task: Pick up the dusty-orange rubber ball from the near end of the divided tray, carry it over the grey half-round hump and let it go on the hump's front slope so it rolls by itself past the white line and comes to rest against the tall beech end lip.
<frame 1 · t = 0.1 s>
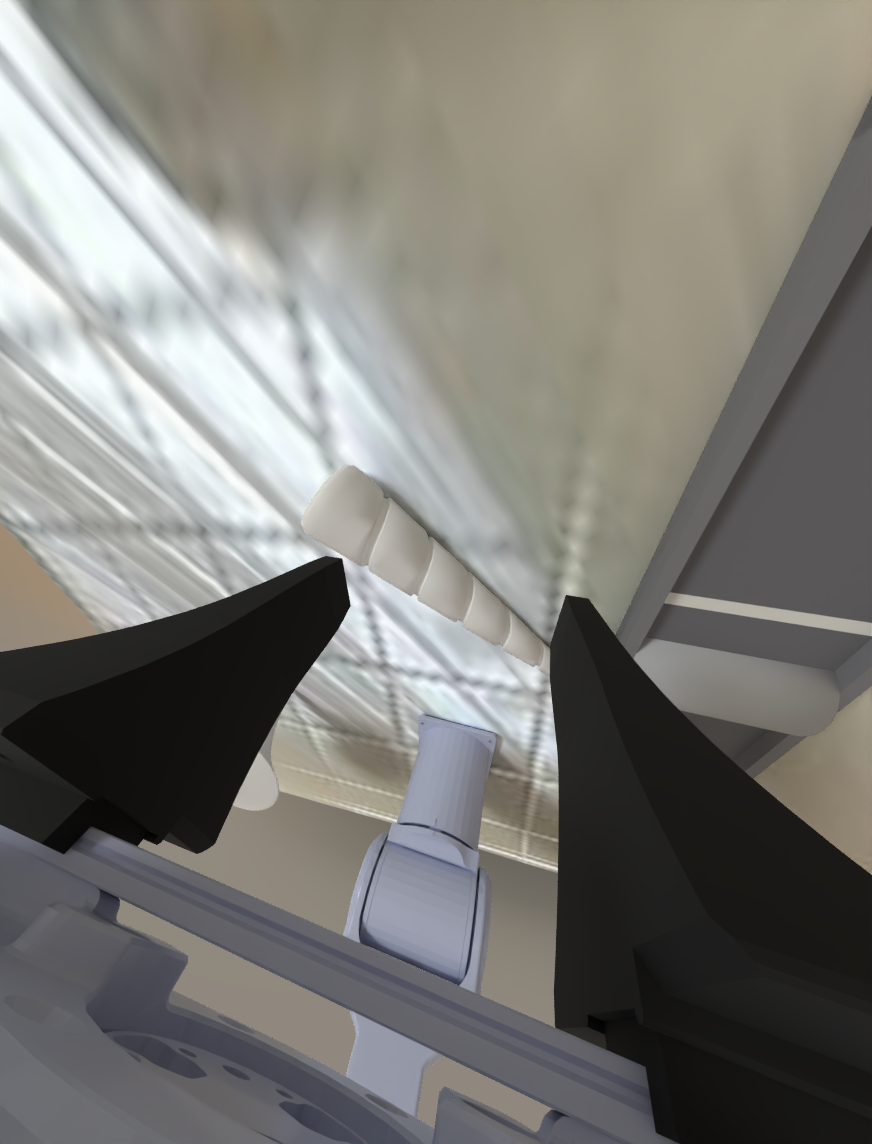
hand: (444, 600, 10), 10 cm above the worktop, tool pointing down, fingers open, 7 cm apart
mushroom: (291, 686, 37), on the worktop
divided tray: (755, 605, 18), on the worktop
unicorn horn: (468, 580, 22), on the worktop
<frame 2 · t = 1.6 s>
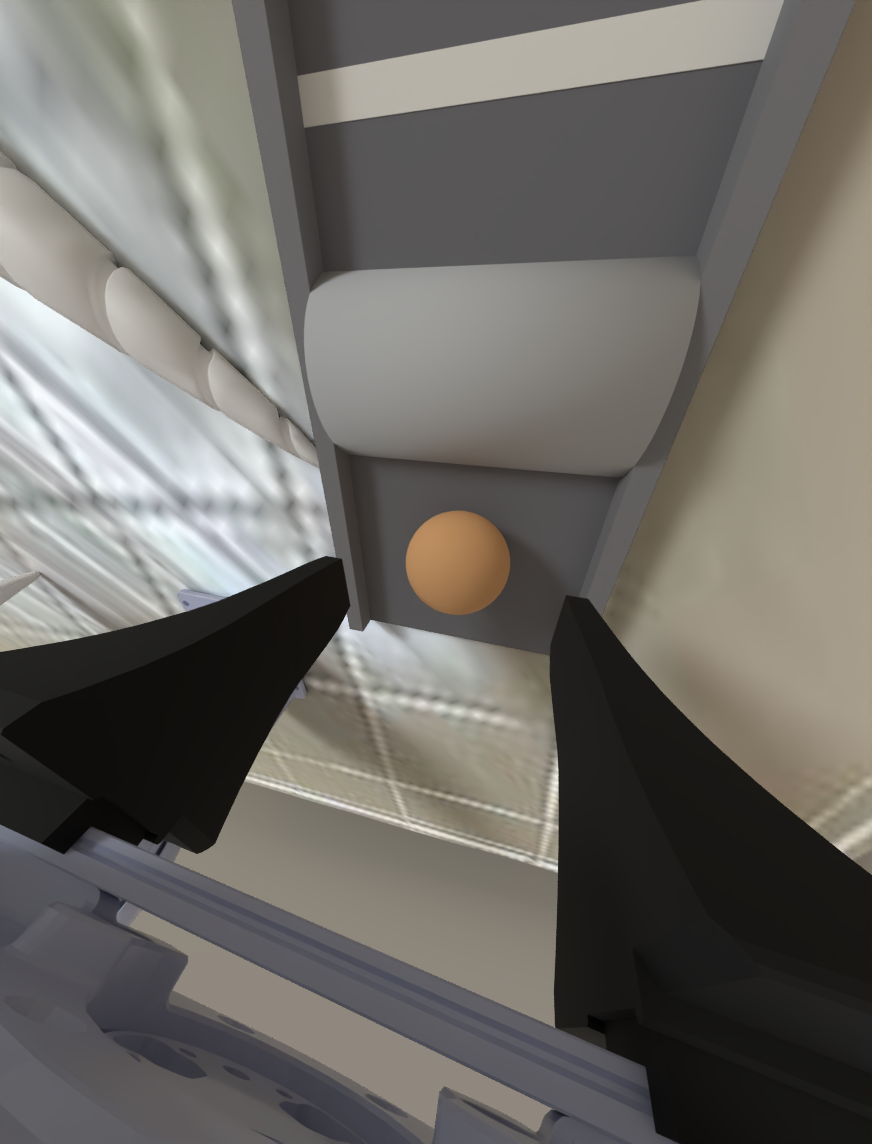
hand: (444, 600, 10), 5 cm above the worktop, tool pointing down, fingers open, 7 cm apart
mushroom: (43, 573, 27), on the worktop
divided tray: (505, 88, 8), on the worktop
unicorn horn: (78, 238, 12), on the worktop
ball: (466, 539, 14), point 1 cm above the worktop, touching divided tray
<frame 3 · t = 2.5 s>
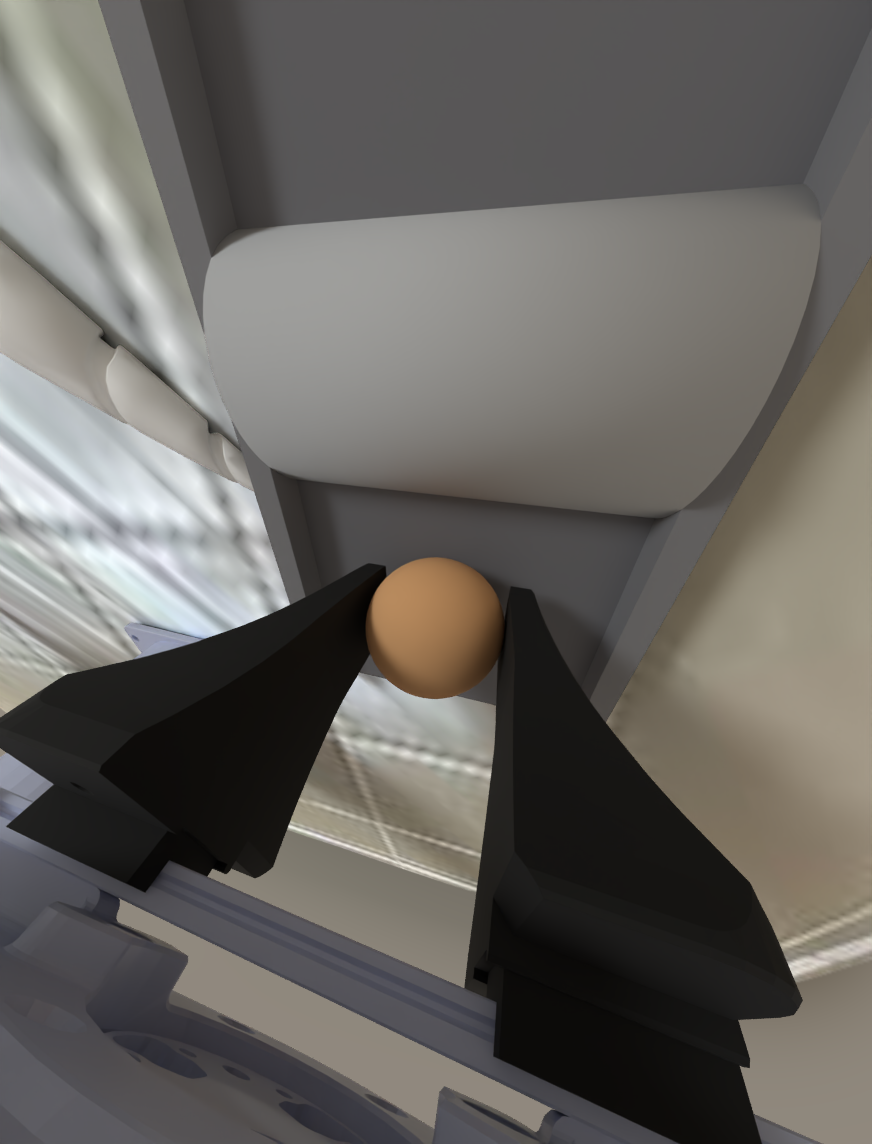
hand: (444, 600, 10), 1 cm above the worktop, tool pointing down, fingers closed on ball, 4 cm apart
ball: (450, 586, 11), point 1 cm above the worktop, touching gripper, divided tray
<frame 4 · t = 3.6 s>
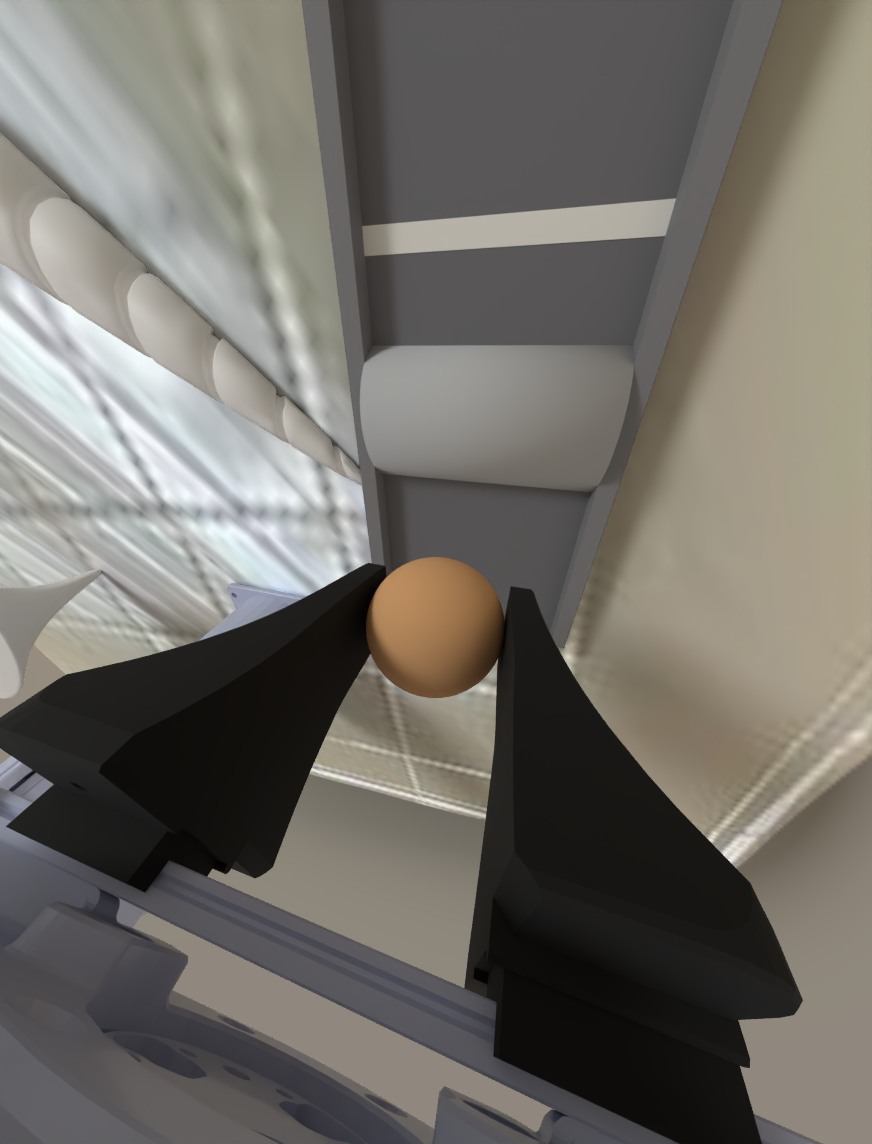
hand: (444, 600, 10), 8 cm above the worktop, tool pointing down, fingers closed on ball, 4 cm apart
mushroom: (103, 571, 31), on the worktop
divided tray: (503, 236, 11), on the worktop
unicorn horn: (182, 313, 16), on the worktop
ball: (451, 586, 11), point 8 cm above the worktop, touching gripper
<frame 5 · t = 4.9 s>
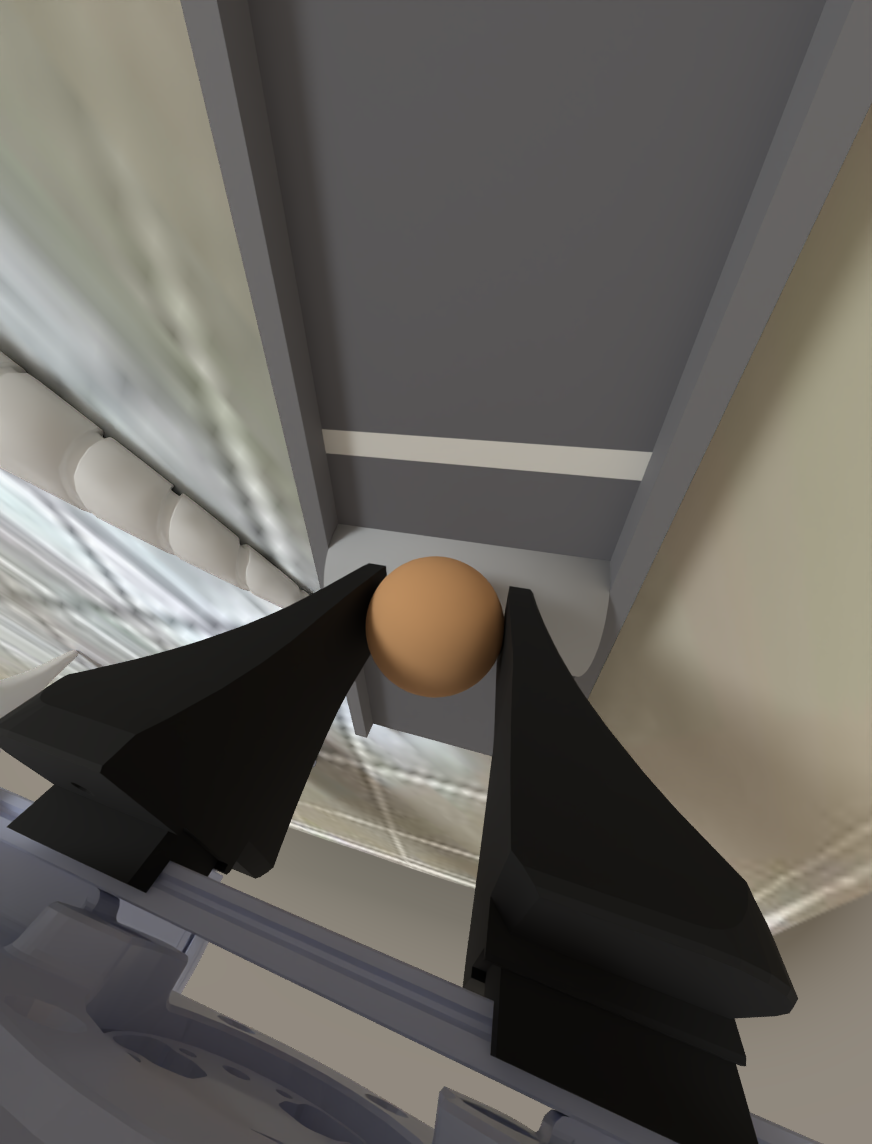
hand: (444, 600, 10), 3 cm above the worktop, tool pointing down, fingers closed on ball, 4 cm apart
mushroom: (80, 650, 30), on the worktop
divided tray: (471, 448, 11), on the worktop
unicorn horn: (141, 460, 15), on the worktop
ball: (450, 585, 11), point 2 cm above the worktop, touching gripper
when the fingers open (3 cm above the worktop, at t = 4.9 s): ball moves 18 cm and tips over, resting on divided tray.
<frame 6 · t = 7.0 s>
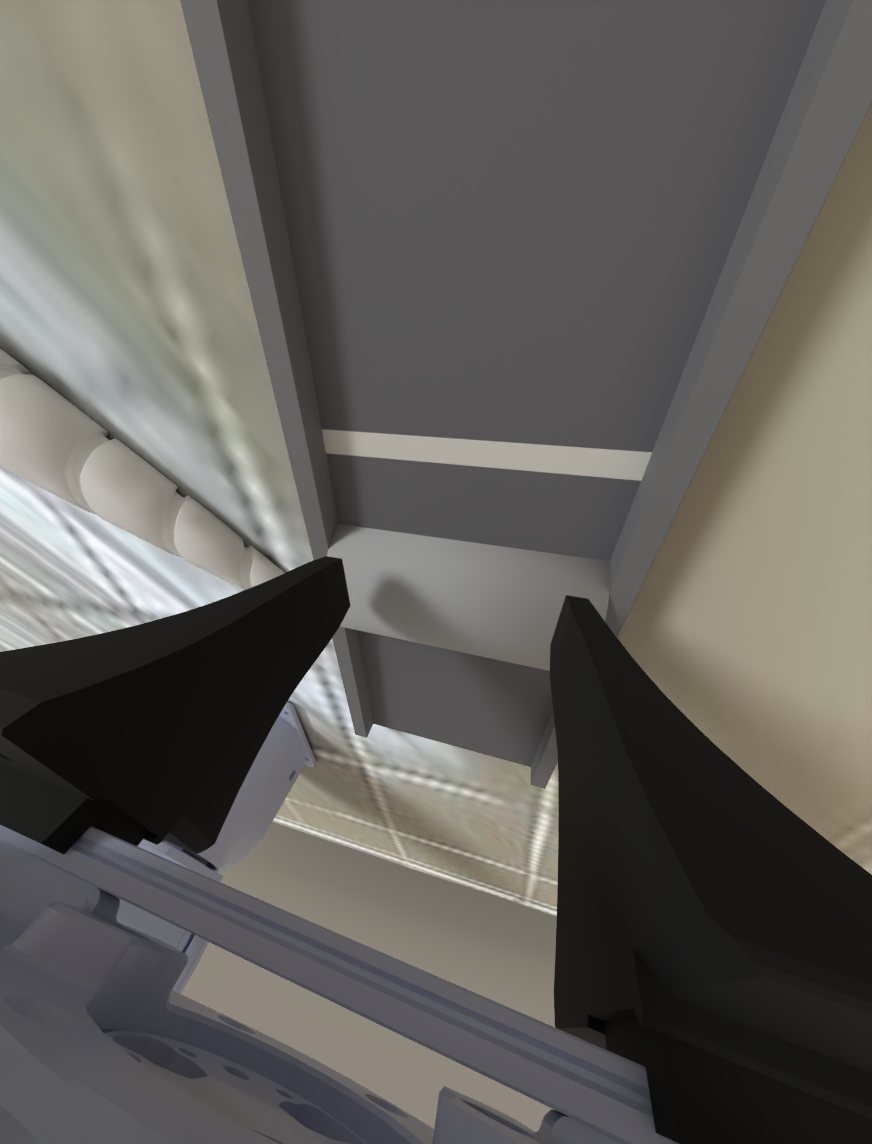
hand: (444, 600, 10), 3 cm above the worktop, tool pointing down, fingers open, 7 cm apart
divided tray: (471, 448, 11), on the worktop
unicorn horn: (146, 462, 15), on the worktop
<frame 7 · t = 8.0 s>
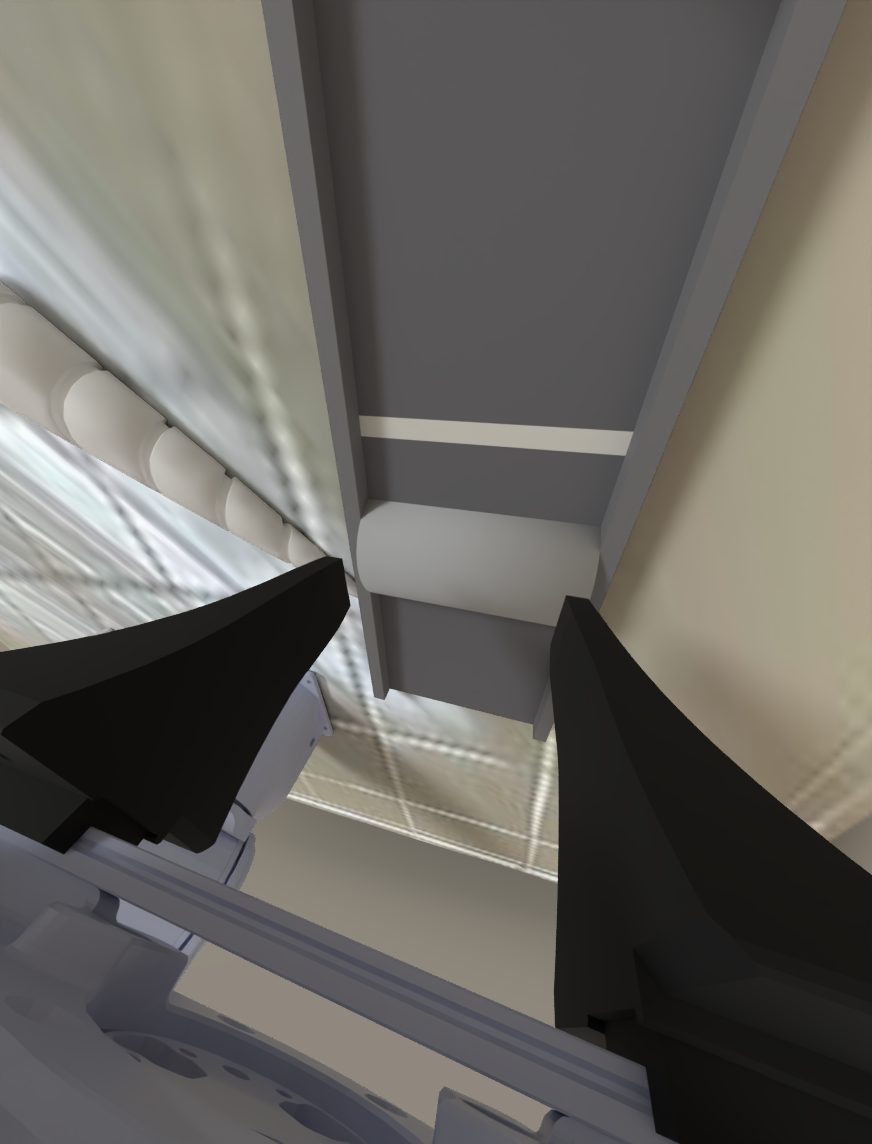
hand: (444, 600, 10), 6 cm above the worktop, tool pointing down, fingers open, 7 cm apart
divided tray: (484, 431, 13), on the worktop
unicorn horn: (197, 448, 18), on the worktop
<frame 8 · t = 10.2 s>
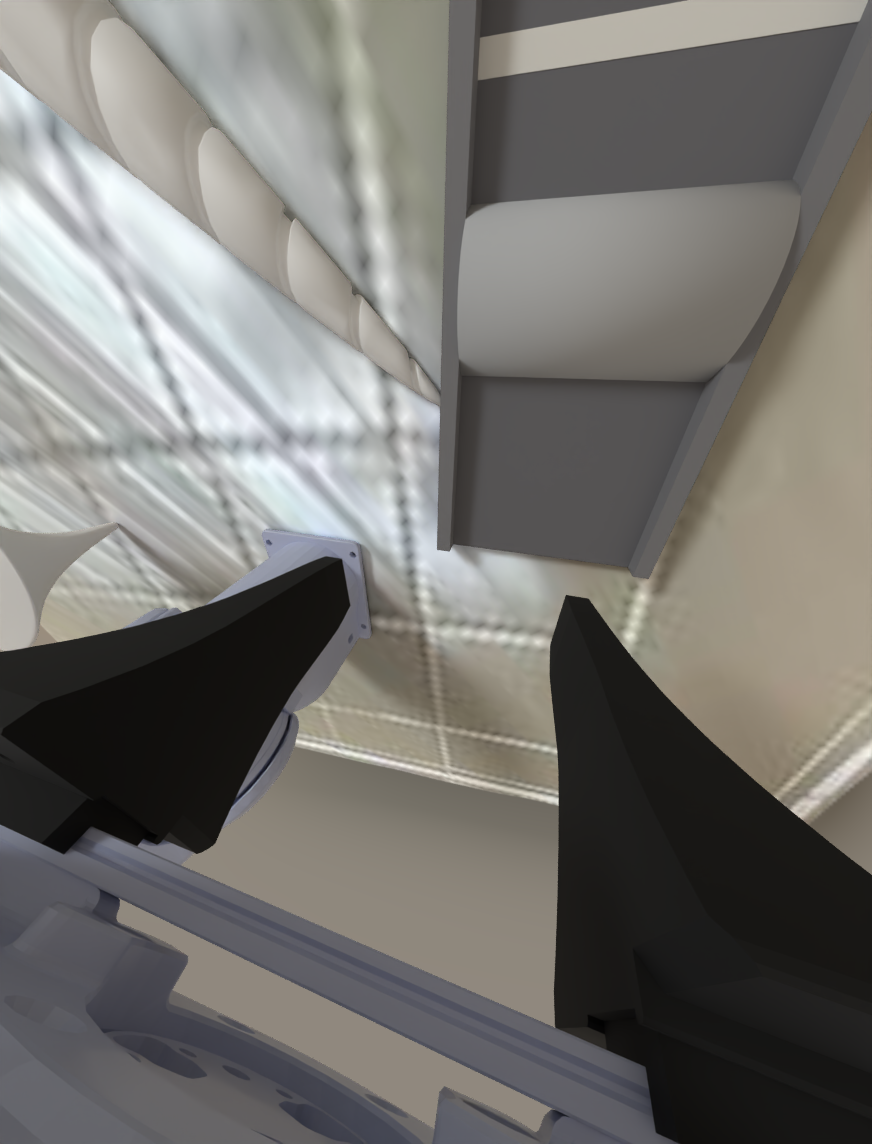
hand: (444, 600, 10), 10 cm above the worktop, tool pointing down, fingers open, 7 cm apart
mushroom: (120, 524, 28), on the worktop
divided tray: (647, 47, 10), on the worktop
unicorn horn: (246, 194, 14), on the worktop
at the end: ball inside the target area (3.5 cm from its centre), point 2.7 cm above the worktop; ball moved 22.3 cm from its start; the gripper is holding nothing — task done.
